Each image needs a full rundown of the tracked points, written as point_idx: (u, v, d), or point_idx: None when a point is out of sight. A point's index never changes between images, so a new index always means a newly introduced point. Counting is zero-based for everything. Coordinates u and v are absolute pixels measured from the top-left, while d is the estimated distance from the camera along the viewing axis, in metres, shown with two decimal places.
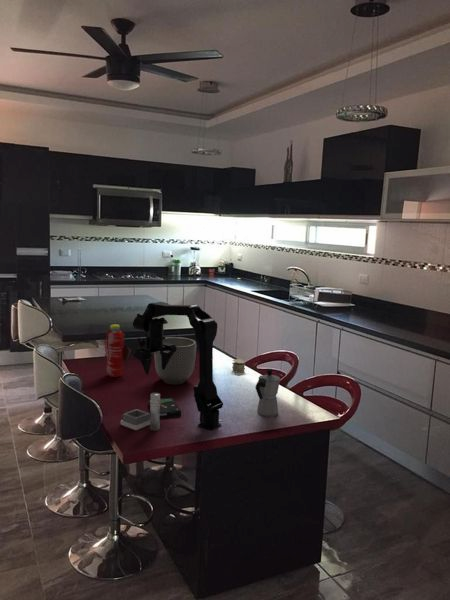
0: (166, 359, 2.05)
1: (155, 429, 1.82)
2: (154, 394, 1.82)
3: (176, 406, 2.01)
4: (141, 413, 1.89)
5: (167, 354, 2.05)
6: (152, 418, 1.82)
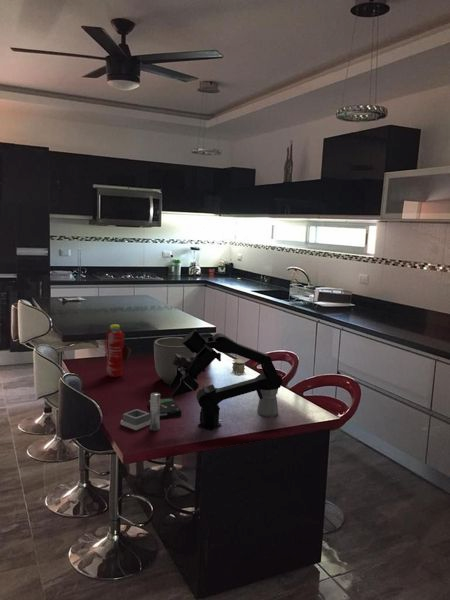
0: None
1: (155, 429, 1.82)
2: (154, 394, 1.82)
3: (176, 406, 2.01)
4: (141, 413, 1.89)
5: None
6: (152, 418, 1.82)
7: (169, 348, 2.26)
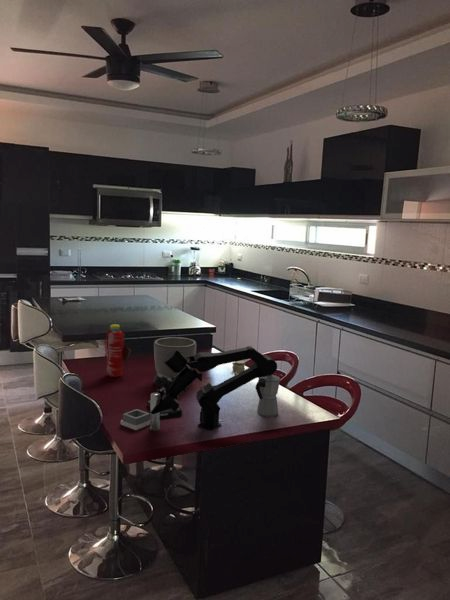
0: None
1: (155, 429, 1.82)
2: (154, 394, 1.82)
3: None
4: (141, 413, 1.89)
5: None
6: (152, 418, 1.82)
7: (169, 348, 2.26)
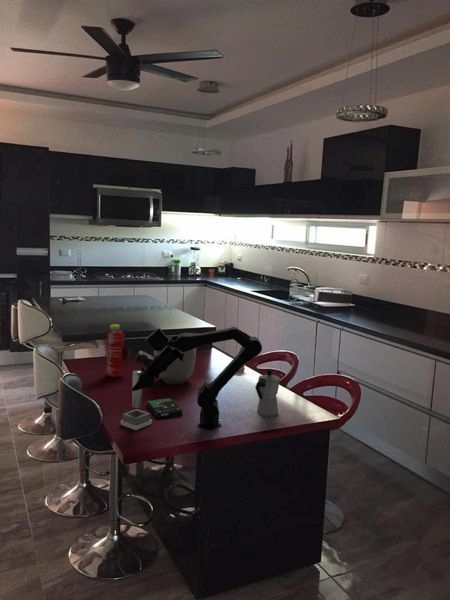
0: None
1: (136, 406, 1.84)
2: (136, 371, 1.84)
3: (176, 406, 2.01)
4: (141, 413, 1.89)
5: None
6: (133, 395, 1.84)
7: None
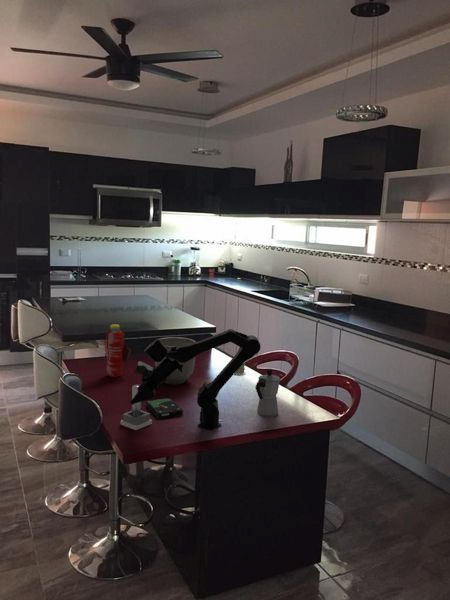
0: None
1: None
2: (136, 386, 1.85)
3: (176, 406, 2.01)
4: (141, 413, 1.89)
5: None
6: (133, 409, 1.85)
7: None
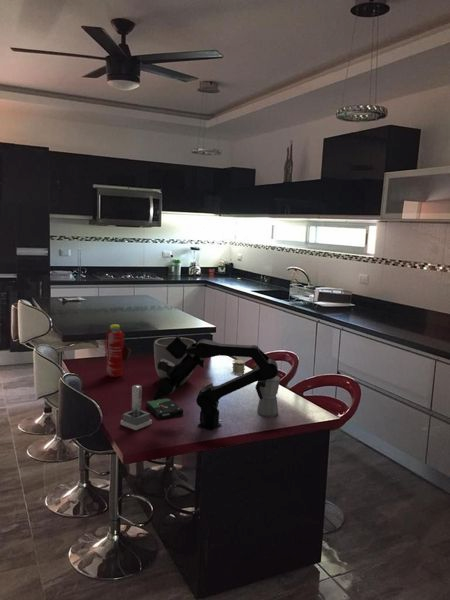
0: None
1: None
2: (135, 386, 1.85)
3: (176, 405, 2.01)
4: (141, 413, 1.89)
5: (176, 384, 1.92)
6: (133, 409, 1.85)
7: None
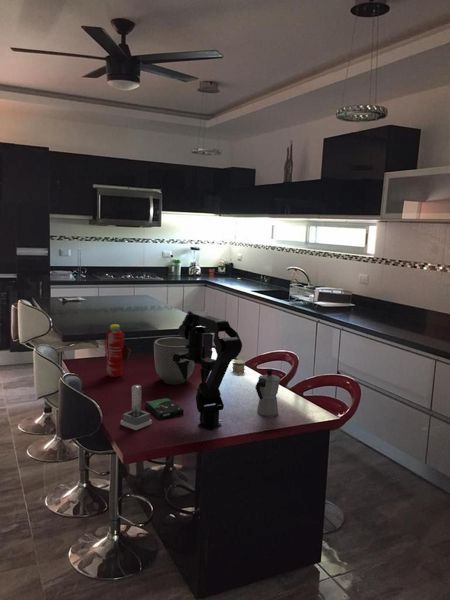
0: None
1: None
2: (135, 386, 1.85)
3: (176, 405, 2.01)
4: (141, 413, 1.89)
5: None
6: (133, 409, 1.85)
7: (169, 348, 2.26)
